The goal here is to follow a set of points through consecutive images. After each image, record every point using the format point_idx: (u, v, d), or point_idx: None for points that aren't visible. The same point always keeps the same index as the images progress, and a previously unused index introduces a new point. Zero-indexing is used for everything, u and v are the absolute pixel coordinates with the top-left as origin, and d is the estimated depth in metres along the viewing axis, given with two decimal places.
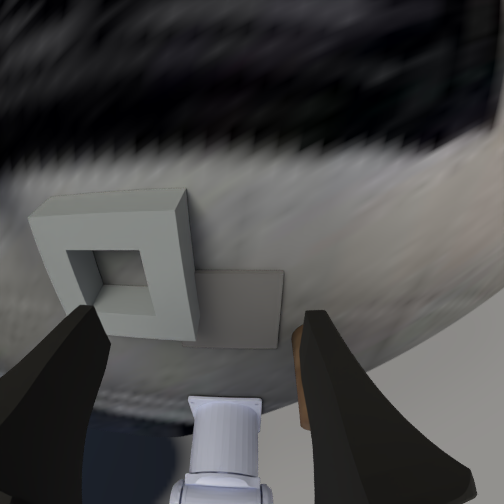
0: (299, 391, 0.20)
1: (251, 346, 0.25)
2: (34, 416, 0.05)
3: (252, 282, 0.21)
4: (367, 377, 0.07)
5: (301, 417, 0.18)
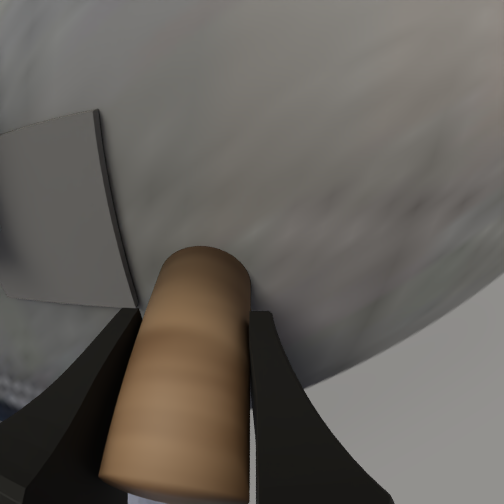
0: None
1: (90, 299, 0.12)
2: (87, 432, 0.05)
3: (46, 141, 0.08)
4: (296, 383, 0.07)
5: None
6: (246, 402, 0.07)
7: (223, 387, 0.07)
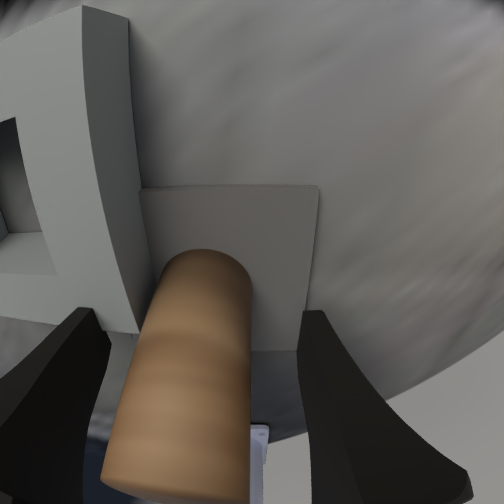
0: None
1: (253, 346, 0.14)
2: (35, 416, 0.05)
3: (255, 209, 0.10)
4: (364, 377, 0.07)
5: None
6: (245, 403, 0.07)
7: (219, 389, 0.07)
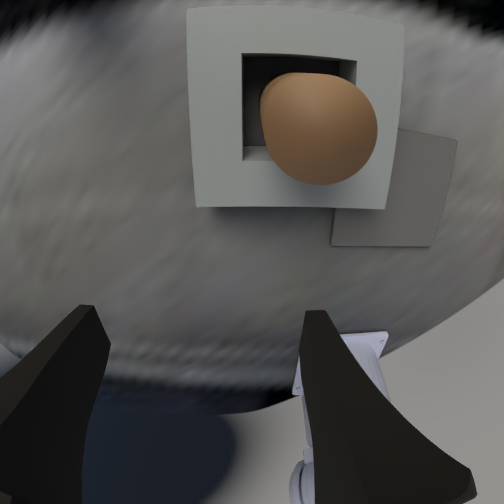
0: (262, 108, 0.10)
1: (409, 241, 0.20)
2: (34, 416, 0.05)
3: (431, 146, 0.16)
4: (367, 377, 0.07)
5: (264, 121, 0.09)
6: None
7: None
